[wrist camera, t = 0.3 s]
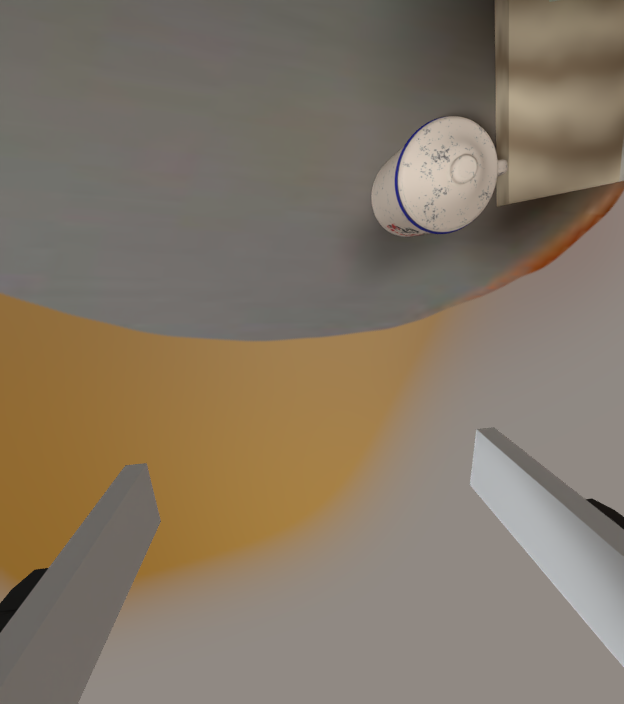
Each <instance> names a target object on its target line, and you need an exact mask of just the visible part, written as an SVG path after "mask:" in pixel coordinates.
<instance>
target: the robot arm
mask: <svg viewBox="0 0 624 704" xmlns="http://www.w3.org/2000/svg"><path fill="white" fill-rule="evenodd" d="M470 485H471V487H472V488H473V489H474V490H475V491H476V493H477V494H478V495H479V496H480V497H481V499H483V501H484V502H485V503H486V504H487V505H488V507H489V508H490V509H491V510H492V512H493V513H494V514H495V515H496V516H497V518H498V519H499V520H500V521H501V522H502V523H503V524H504V526H505V527H506V528H507V529H508V531H509V532H510V533H511V534H512V535H513V537H514V538H515V539H516V540H517V541H518V542H519V544H520V545H521V546H522V547H523V548H524V550H525V551H526V552H527V553H528V554H529V556H530V557H531V558H532V559H533V560H534V561H535V563H536V564H537V565H538V566H539V567H540V569H541V570H542V571H543V572H544V573H545V575H546V576H547V577H548V578H549V579H550V580H551V582H552V583H553V584H554V585H555V586H556V588H557V589H558V590H559V591H560V592H561V593H562V595H563V596H564V597H565V598H566V599H567V601H568V602H569V603H570V604H571V605H572V607H573V608H574V609H575V610H576V611H577V612H578V614H579V615H580V616H581V617H582V618H583V620H584V621H585V622H586V623H587V624H588V626H589V627H590V628H591V629H592V630H593V632H594V633H595V634H596V635H597V636H598V638H599V639H600V640H601V641H602V642H603V643H604V645H605V646H606V647H607V648H608V649H609V651H610V652H611V653H612V654H613V655H614V656H615V658H616V659H617V660H618V661H619V662H620V663H621V664H622V666H623V667H624V517H623V516H622V515H620V514H619V513H618V512H616V511H615V510H613V509H611V508H609V507H607V506H605V505H604V504H601V503H600V502H597V501H596V500H594V499H584V498H583V497H582V496H580V495H579V494H578V493H577V492H575V491H574V490H573V489H572V488H570V487H569V486H568V485H566V484H565V483H564V482H563V481H561V480H560V479H559V478H558V477H556V476H555V475H554V474H553V473H551V472H550V471H549V470H547V469H546V468H545V467H544V466H542V465H541V464H540V463H539V462H537V461H536V460H535V459H533V458H532V457H531V456H529V455H528V454H527V453H526V452H525V451H523V450H522V449H521V448H519V447H518V446H517V445H516V444H514V443H513V442H512V441H511V440H509V439H508V438H507V437H505V436H504V435H503V434H502V433H500V432H499V431H498V430H497V429H495V428H484V429H477V430H476V437H475V446H474V455H473V463H472V472H471V481H470ZM160 522H161V521H160V517H159V513H158V508H157V505H156V500H155V496H154V492H153V488H152V484H151V480H150V476H149V471H148V467H147V464H135V465H126V466H125V467H124V468H123V469H122V471H121V472H120V473H119V475H118V476H117V477H116V479H115V480H114V481H113V483H112V484H111V486H110V487H109V488H108V490H107V491H106V492H105V494H104V495H103V496H102V498H101V499H100V500H99V502H98V503H97V504H96V506H95V507H94V508H93V510H92V511H91V512H90V514H89V515H88V516H87V518H86V519H85V520H84V522H83V523H82V524H81V526H80V527H79V529H78V530H77V531H76V532H75V534H74V535H73V536H72V538H71V539H70V540H69V542H68V543H67V544H66V546H65V547H64V548H63V550H62V551H61V552H60V554H59V555H58V556H57V558H56V559H55V560H54V562H53V563H52V564H51V566H50V567H49V568H45V569H38V570H34V571H33V572H32V573H30V574H29V575H28V576H27V577H26V578H25V579H23V580H22V581H21V582H20V583H19V584H18V585H16V586H15V587H14V588H13V589H12V590H11V591H10V592H9V594H8V595H7V596H6V597H5V598H4V600H3V601H2V602H1V603H0V704H78V702H79V700H80V698H81V695H82V693H83V691H84V689H85V687H86V684H87V682H88V680H89V678H90V675H91V673H92V671H93V669H94V667H95V665H96V662H97V660H98V658H99V656H100V654H101V651H102V649H103V647H104V645H105V643H106V640H107V638H108V636H109V634H110V631H111V629H112V627H113V625H114V623H115V621H116V618H117V616H118V614H119V612H120V610H121V607H122V605H123V603H124V601H125V599H126V596H127V594H128V592H129V590H130V588H131V585H132V583H133V581H134V579H135V577H136V574H137V572H138V570H139V568H140V566H141V563H142V561H143V559H144V557H145V555H146V552H147V550H148V548H149V546H150V543H151V541H152V539H153V537H154V535H155V533H156V530H157V528H158V526H159V524H160Z"/></svg>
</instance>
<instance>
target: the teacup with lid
mask: <svg viewBox="0 0 624 704" xmlns="http://www.w3.org/2000/svg"><path fill="white" fill-rule="evenodd" d="M507 170H508V163H507V161H506V160H503V159H502V160H498V159H497V153H496V150H495V147H494V144H493V142H492V140H491V138H490V136H489V135H488V134H487V132H486V131H485V130H484V129H483V128H482V127H481V126H480V125H478V124H477V123H475V122H474V121H472V120H470V119H467V118H464V117H459V116H447V117H441V118H437V119H435V120H432V121H430V122H428V123H426V124H425V125H423V126H422V127H421V128H419V129H418V130H417V131H416V132H415V133H414V134H413V135H412V136H411V137H410V139H409V140H408V141H407V143H406V144H405V146H404V147H403V148H402V149H400V150H399V151H398V152H397V153H396V154H395V155H394V156H393V157H392V158H390V159H389V160H388V161H387V162H386V163H385V164H384V165H383V166H382V168H381V169H380V171H379V172H378V174H377V176H376V178H375V181H374V184H373V188H372V196H371V199H372V207H373V211H374V214H375V216H376V218H377V220H378V222H379V223H380V224H381V226H382V227H383V228H384V229H386V230H387V231H388V232H390V233H392V234H394V235H397V236H402V237H411V236H417V235H423V234H429V233H434V234H446V233H451V232H455V231H457V230H460V229H462V228H464V227H465V226H467V225H468V224H470V223H471V222H472V221H473V220H474V219H475V218H477V217H478V216H479V215H480V213H481V212H482V211H483V210H484V208H485V207H486V206H487V204H488V202H489V200H490V199H491V196H492V194H493V192H494V189H495V186H496V182H497V177H499V176H501V175H503V174H505V173H506V172H507Z"/></svg>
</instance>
